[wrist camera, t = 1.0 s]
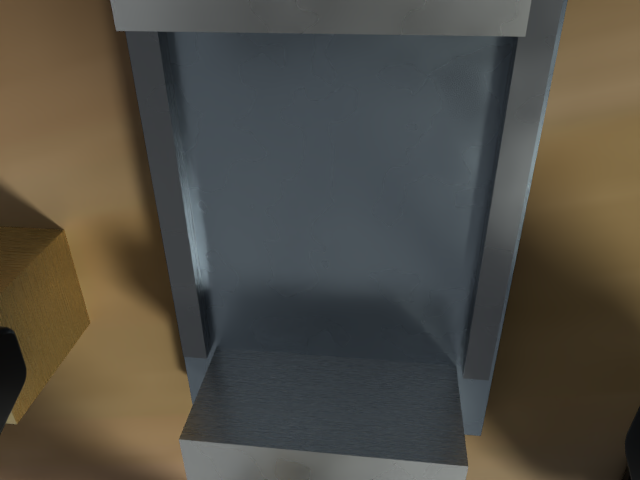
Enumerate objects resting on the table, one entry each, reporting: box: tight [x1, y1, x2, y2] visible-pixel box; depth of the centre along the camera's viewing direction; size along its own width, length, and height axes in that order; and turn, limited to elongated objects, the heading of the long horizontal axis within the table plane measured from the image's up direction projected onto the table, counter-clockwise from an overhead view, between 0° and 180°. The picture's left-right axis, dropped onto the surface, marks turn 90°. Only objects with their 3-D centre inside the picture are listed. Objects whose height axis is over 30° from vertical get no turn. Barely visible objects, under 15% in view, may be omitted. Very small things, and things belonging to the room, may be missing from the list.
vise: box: [125, 0, 568, 480], centre depth 19 cm, size 22×13×6 cm, turn 1°
